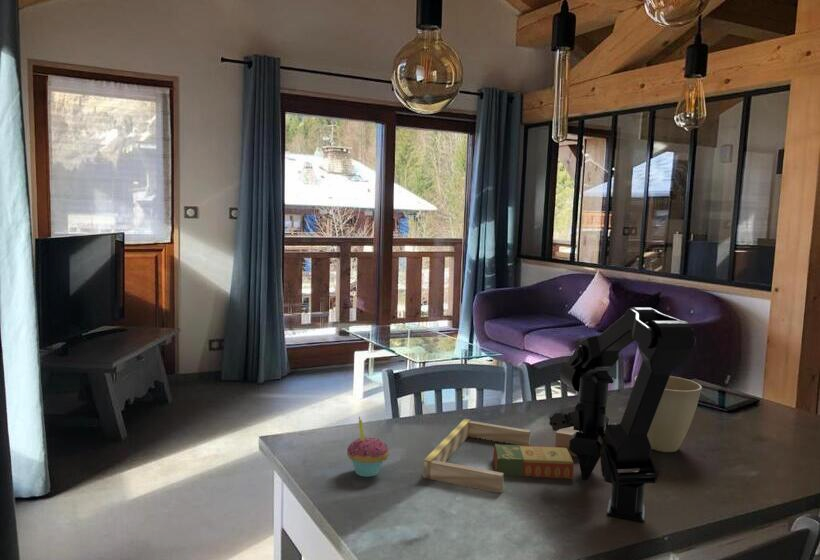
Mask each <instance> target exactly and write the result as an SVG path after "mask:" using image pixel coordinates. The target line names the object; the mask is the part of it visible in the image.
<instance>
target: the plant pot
mask: <svg viewBox="0 0 820 560" xmlns="http://www.w3.org/2000/svg"><path fill="white" fill-rule="evenodd" d="M637 376H638V375H636V376H635V377H634V382H635V381H636V378H637ZM702 389H703V386H702V385H701V384H699V383H698V382H696V381H694V380H691V379H687V378H682V377H680V376H679V377H678V376H673V375H670V377H669V380H668V382H667V385H666V388H665V390H664V393H663V395H662V398H661V400H660V403H659V406H658V408H657V411H656V413H655V416H654V419H653V421H652V424H651V426H650V429H649V432H648V438H649V441H650V444H651V446H652V449H651V450H655V451H657V452H662V453H674V452H677V451H678V450H679V448H680V447H681V445H682V444H683V441H684V439H685V437H686V435H687V433H688V432H689V428H690V427H691V424H692V422H693V418H694V416H695V413H696V410H697V407H698V403H699V399H700V395H701V391H702Z"/></svg>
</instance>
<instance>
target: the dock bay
mask: <svg viewBox="0 0 820 560" xmlns="http://www.w3.org/2000/svg"><path fill="white" fill-rule="evenodd" d="M531 433H532V432H531V430H530V429H524V428H517V427H512V426H505V425H499V424H494V423H493V424H492V423H487V422H486V423H485V422H482V421H481V422H480V421H473V420H471V419H468V418H464V419H463V420H462V421H461V422H460V423H459V424H458V425H457V426H456V427H455V428H454V429H453V430H452V431H451V432H450V433H449V434H448V435H447V436H446V437H445V438H444V439H443V440H441V442H440V443H439V444H438V445H437V446H436V447H435V448H434V449H433V450H432V451H431V452H430V453H429V454H428V455H427V456H426V457H425V458H424V459H423V470H422V471H423V475H422V476H423V478H424V479H427V480H434V481H438V482H443V483H448V484H453V485H458V486H464V487H468V488H473V489H474V488H475V489H479V490H484V491H487V492H488V491H489V492H494V493H499V494H502V492H503V490H504V478H505V477H504V476H505V475H504V473H501V472H496V470H489V469H483V468H478V467H473V466H467V465H463V464H456V463H452V462H451V463H450V462H447V459H450V457H451V456H452V455H454V453H455V452H456V451H457V450H458V449H459V447H460V446H462V444H463V443H464V442H465V441H466V440H467V438H468V437H469V438H474V439H475V437H476V439H479V438H481V439H480V440H485V439H486V440H485V441H491V440H492V442H497V441H498V443H503V442H505V444H509V443H510V444H509V445H520V446H521V445H522V446H531ZM456 449H457V450H456Z"/></svg>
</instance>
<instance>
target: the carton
mask: <svg viewBox="0 0 820 560" xmlns="http://www.w3.org/2000/svg"><path fill="white" fill-rule="evenodd" d="M492 459H493V460H492V461H493V465H494V471H495V472H501V473H504V476H511V475H520V476H519V477H529V476H534V477H533V478H545V477H549V479H563V478H566V479H565V480H567V478H568V480H573V479H574V469H575V468H574V460H573V458H572V456H570V454H569V452H568V450H567V448H564V447H555V446H542V445H541V446H537V445H536V446H535V445H529V446H521V445H515V444H497V443H495V444H494V447H493V455H492Z"/></svg>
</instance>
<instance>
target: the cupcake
mask: <svg viewBox="0 0 820 560" xmlns="http://www.w3.org/2000/svg"><path fill="white" fill-rule="evenodd" d="M358 426H359V427H358V428H359V435H360V438H358V439H357V438H356V439H354V440H353V441H351V443H350V444H349V445H348V446H347V451H346V455H347V457H348V458H349V459H350V460H351V462H352V465H353V468H354V472H355V474H357V476H360V477H366V478H370V477H374V476H376V475H378V474H379V471H380V468H381V466H382V464H383V462H384V461H386V460H387V459H388V457H389V448H388V445H387V444H386V443H384V441H382V440H381V439H379V438H377V437H369V436H366V437H365V435H364V427H363V419H361V417H360V416H358Z"/></svg>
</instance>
